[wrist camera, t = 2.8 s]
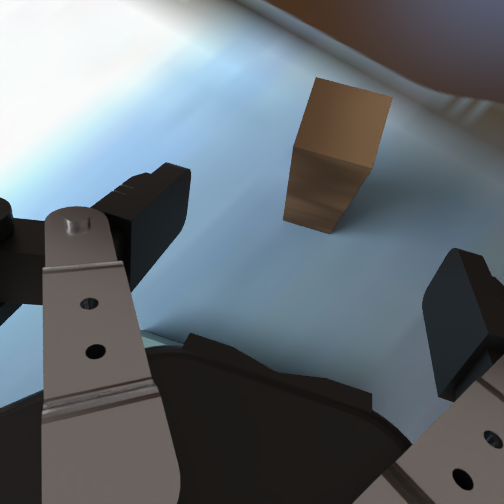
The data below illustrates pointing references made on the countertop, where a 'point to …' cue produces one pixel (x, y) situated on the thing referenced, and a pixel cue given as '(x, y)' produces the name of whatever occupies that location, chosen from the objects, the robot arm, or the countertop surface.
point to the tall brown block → (333, 152)
